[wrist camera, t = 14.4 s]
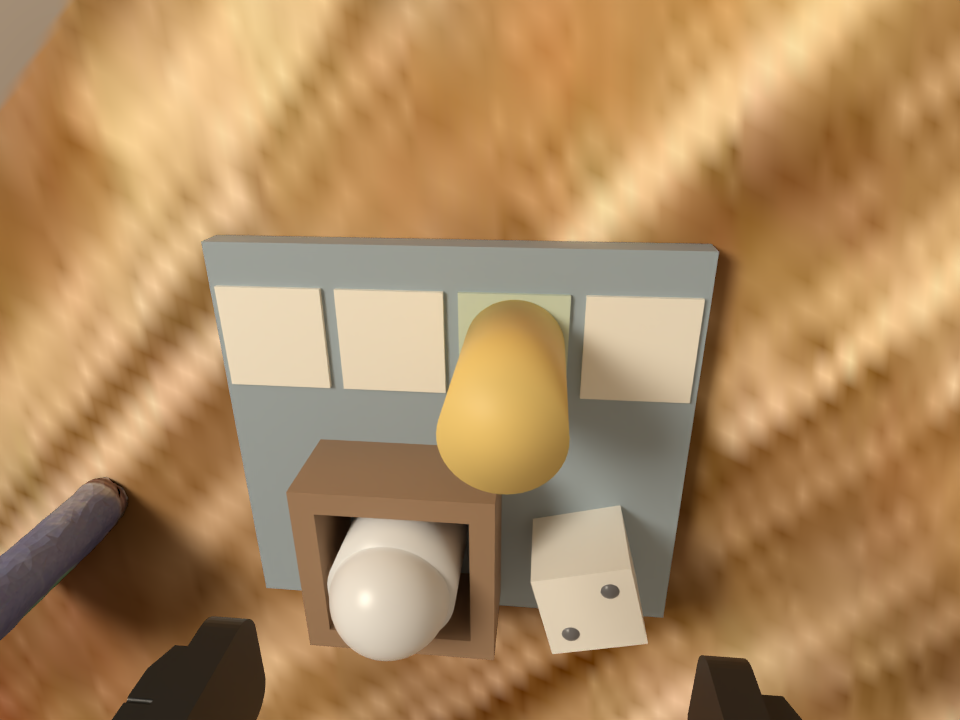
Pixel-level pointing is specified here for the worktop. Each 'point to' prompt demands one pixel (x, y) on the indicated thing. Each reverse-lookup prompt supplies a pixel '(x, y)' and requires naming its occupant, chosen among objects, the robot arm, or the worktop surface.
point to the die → (586, 581)
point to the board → (423, 388)
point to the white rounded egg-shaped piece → (395, 584)
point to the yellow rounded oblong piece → (507, 401)
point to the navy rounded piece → (56, 548)
